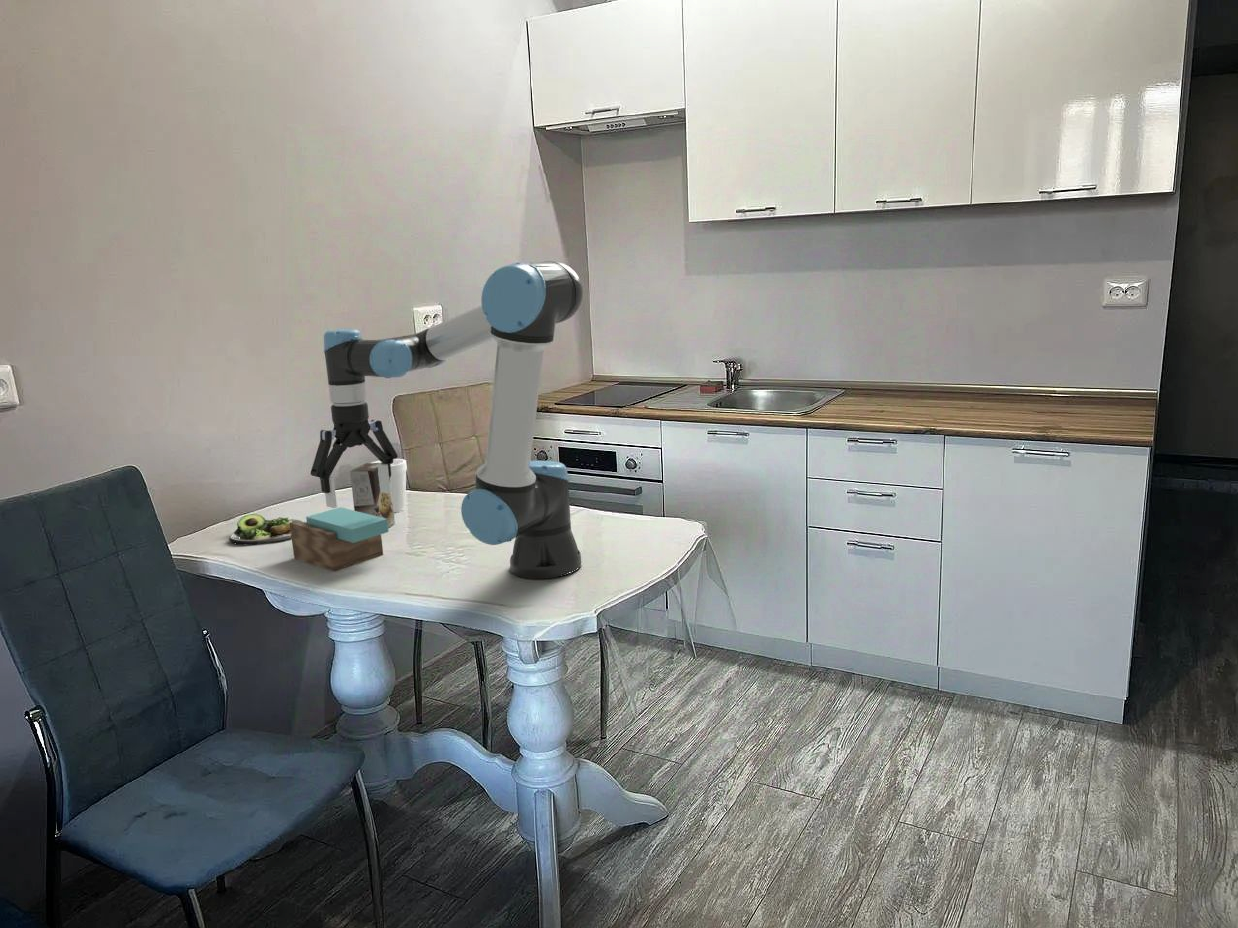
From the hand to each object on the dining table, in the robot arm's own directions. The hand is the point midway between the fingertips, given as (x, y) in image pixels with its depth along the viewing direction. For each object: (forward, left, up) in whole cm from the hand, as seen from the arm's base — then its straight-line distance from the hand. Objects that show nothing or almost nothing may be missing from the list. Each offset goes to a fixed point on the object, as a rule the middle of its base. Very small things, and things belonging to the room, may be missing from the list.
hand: (359, 499), depth 202 cm
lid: (+6, 0, -8) cm, 10 cm away
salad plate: (+43, 0, -16) cm, 46 cm away
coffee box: (+22, -18, -15) cm, 32 cm away
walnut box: (+11, 0, -15) cm, 19 cm away
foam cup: (+33, -31, -15) cm, 48 cm away
